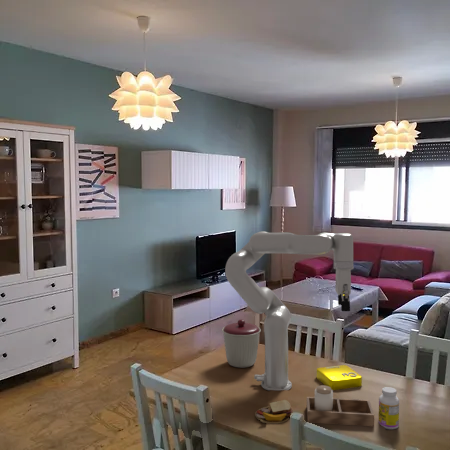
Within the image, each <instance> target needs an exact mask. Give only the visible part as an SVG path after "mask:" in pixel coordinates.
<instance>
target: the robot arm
mask: <svg viewBox="0 0 450 450" xmlns="http://www.w3.org/2000/svg"><path fill="white" fill-rule="evenodd" d="M330 251H333V269H334V270H335V285H334V287H335V288H334V289H335V293H336V294H337V305H339V306H341V311H342V312H350V311H351V300H350V299H351V298H350V295H351V294H352V278H351V276H352V274H351V273H352V272H351V271H352V270H354V236H353V234H351V233H347V232H342V233H341V232H340V233H331V232H320V233H318V234H315V235H314V234H310V235H309V234H307V235H305V234H304V235H303V234H296V233H292V232H268V231H264V230H262V231H258V232H255V233H253V234H252V235H251V236H250V238H249V241H248V242H247V243H246V244H245V245H244V246H243V247H242V248H241V249H239V250H238V251H237V252H234V253H233V254H231V256H229V257H228V259H227V261H226V263H225V268H224V269H225V270H224V271H225V273H224V274H225V276H226V280H227V281H228V283H229V285H230V286H231V287H232V288H233V289H234V291H236V292H237V294H238V295H239V296H240V298H241V299H242V300H243V301H244V302H245V303H246V305H247V306H248V307H249V308H250V309H251V311H252V312H253V313H255V314H257V315H258V314H260V315H263V314H264V316H265V319H264V321H263V332H264V333H263V334H264V373H262V374H254V378H253V379H254V380H256V381H257V382H260V383H261V384H260V386H261V387H262V388H263V389H264V390H267V391H289V390H290V389H291V388H292V386H293V384H292V383H293V382H291V381H290V380H289V337H288V331H289V328H288V327H289V326H290V324H291V321H292V313H291V312H290V309H288V307H287V306H286V305H285V303H283V302H282V300H281V299H280V297H278V295H277V294H276V293H275V292H274V291H273V290H272V289H270V288H269V287H267V286H259V285H258V284H257V283H256V281H255V280H254V279H253V278H252V276H250V275H249V274H248V272H247V270H249V269H250V268H251V267H253V265H255V264H256V263H257V262H258V261H259V260H260V259H261V258H262V257H263V256H264V255H266V254H291V255H324V254H327V253H329V252H330Z"/></svg>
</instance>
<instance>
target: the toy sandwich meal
mask: <svg viewBox="0 0 450 450" xmlns="http://www.w3.org/2000/svg"><path fill="white" fill-rule="evenodd" d="M291 413H293V414H294V412H293V409H292V404H291V403H290V402H289V401H288V400H287V399H282V400H279V401H273V402H269V406H264V407H261V408H259V409H257V410H256V411H255V412H254V416H255V418H256V419H257V420H258V421H259V420H260V421H259V422H261V423H263V424H265V423H266V424H282V423H284V422H287V421H288V420H289V419H290V418H289V417H290V415H291Z"/></svg>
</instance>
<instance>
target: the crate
mask: <svg viewBox="0 0 450 450" xmlns="http://www.w3.org/2000/svg"><path fill="white" fill-rule="evenodd" d="M306 416H307V418H306V419H307V423H309V422H310V424H312V423H313V424H329V425H345V426H347V425H348V426H358V427H359V426H364V427H375V413H374V410H373V408H372V404H371V402H370V399H359V398H358V399H356V398H339V397H338V398H337V397H333V412H332V411H315V396H306Z"/></svg>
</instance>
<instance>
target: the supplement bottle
mask: <svg viewBox="0 0 450 450" xmlns="http://www.w3.org/2000/svg"><path fill="white" fill-rule="evenodd" d="M397 392H398V391H397V389H396V388H394V387H391V386H385V387H382V389H381V393H382V394H380V395H379V397H378V424H379V425H381V426H382V427H384V429H386V430H396V429H398V428H399V426H400V425H399V423H400V398H398V396H397Z"/></svg>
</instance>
